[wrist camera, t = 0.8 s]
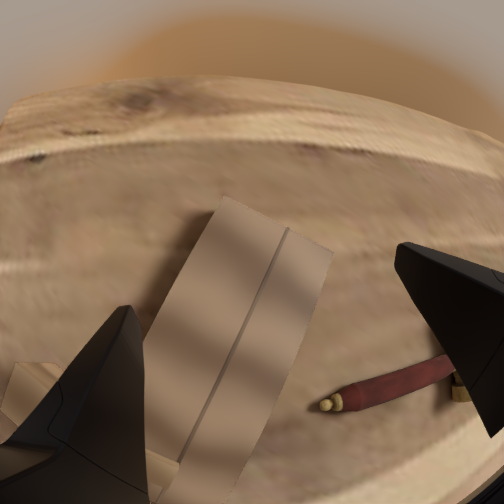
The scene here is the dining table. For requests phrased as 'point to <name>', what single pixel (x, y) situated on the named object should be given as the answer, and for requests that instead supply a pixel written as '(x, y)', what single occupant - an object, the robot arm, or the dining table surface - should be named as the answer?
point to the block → (34, 390)
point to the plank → (226, 348)
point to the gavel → (396, 386)
